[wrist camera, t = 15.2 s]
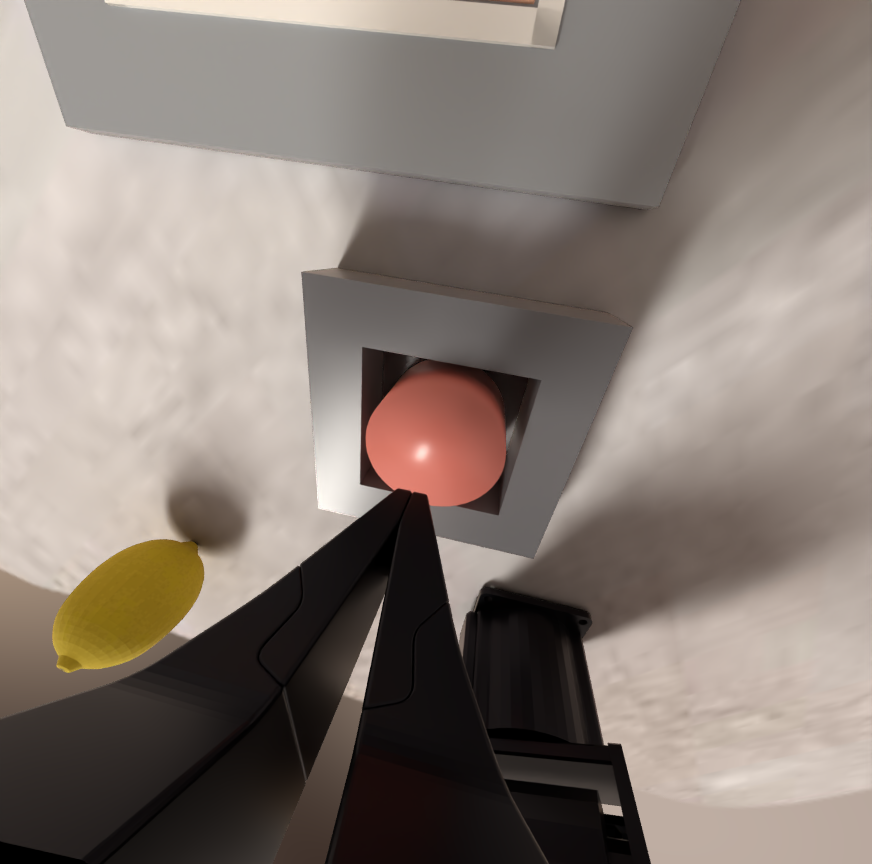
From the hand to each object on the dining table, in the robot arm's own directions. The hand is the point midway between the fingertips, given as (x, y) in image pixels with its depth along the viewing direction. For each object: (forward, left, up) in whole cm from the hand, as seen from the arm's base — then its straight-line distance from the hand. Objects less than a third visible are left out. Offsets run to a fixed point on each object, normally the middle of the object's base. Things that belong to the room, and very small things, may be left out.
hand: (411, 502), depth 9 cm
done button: (0, 0, -6) cm, 6 cm away
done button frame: (0, 0, -6) cm, 6 cm away
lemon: (+16, +14, -6) cm, 22 cm away
